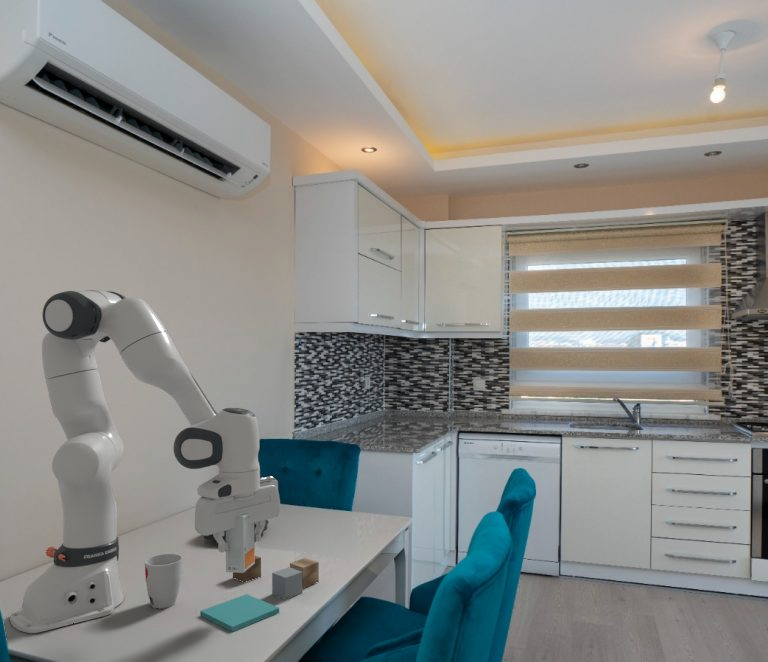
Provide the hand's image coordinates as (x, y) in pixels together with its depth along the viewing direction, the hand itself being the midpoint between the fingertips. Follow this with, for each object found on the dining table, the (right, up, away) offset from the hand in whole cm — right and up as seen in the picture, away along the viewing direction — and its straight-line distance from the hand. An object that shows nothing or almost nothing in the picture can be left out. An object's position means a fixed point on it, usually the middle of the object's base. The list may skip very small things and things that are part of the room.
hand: (240, 546), depth 131 cm
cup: (-19, -15, +5) cm, 25 cm away
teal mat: (0, -15, -1) cm, 15 cm away
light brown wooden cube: (+12, -15, +17) cm, 26 cm away
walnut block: (-3, -16, +21) cm, 27 cm away
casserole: (-15, -18, +58) cm, 62 cm away
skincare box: (0, -5, 0) cm, 5 cm away
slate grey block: (+9, -15, +11) cm, 20 cm away
